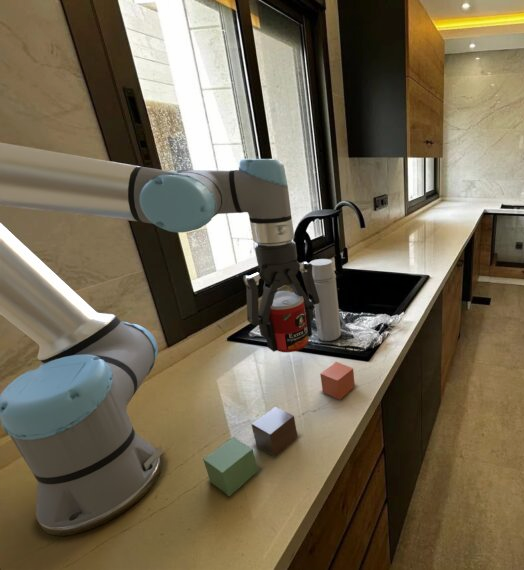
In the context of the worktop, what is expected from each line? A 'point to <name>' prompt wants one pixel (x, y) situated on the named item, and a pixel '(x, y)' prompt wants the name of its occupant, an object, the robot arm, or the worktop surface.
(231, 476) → the block sage
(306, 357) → the worktop surface
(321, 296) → the water bottle
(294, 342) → the canned food
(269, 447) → the block walnut
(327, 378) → the block terracotta
